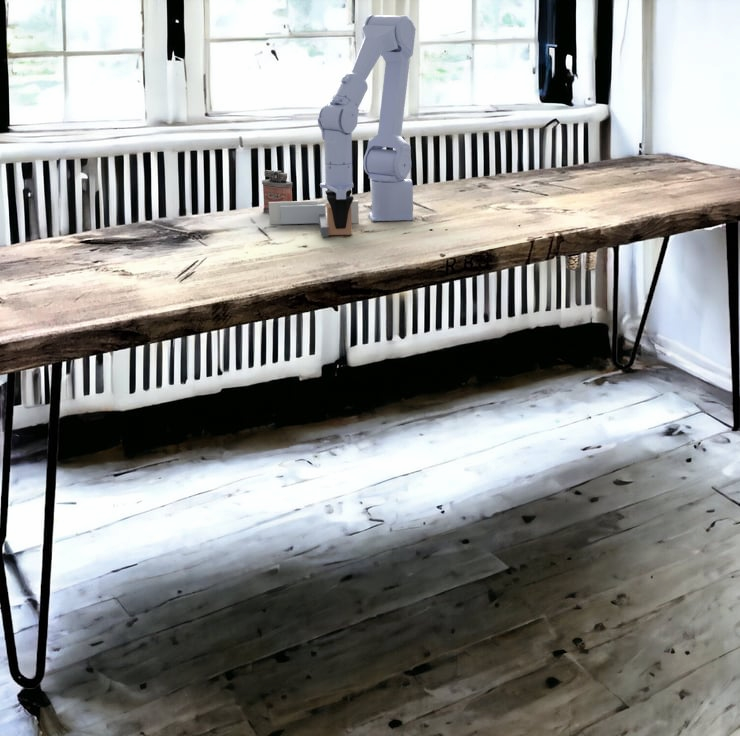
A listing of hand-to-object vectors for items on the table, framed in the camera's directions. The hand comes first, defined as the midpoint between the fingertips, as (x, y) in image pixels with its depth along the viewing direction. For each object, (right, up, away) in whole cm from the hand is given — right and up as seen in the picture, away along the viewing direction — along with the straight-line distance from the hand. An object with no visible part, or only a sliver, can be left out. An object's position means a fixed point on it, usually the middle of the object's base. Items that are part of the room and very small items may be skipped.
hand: (339, 225), depth 223 cm
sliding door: (-8, 0, +4) cm, 9 cm away
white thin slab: (-6, +2, +10) cm, 12 cm away
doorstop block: (0, -1, +1) cm, 2 cm away
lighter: (-15, +5, +20) cm, 26 cm away
